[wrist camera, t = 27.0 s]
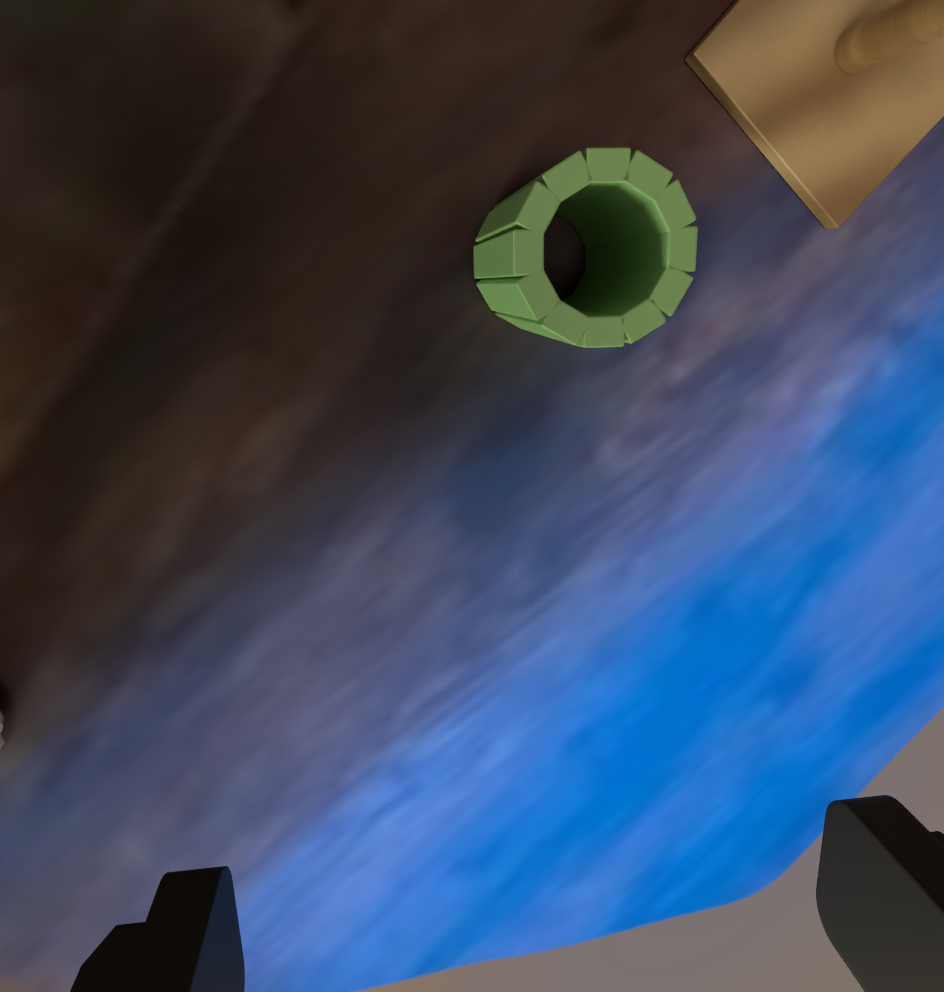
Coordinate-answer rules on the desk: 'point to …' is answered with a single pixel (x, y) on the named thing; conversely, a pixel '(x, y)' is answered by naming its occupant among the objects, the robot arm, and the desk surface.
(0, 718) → the sitting furry creature
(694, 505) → the desk surface
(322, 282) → the desk surface
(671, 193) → the green grooved tube
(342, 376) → the desk surface
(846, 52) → the stand
